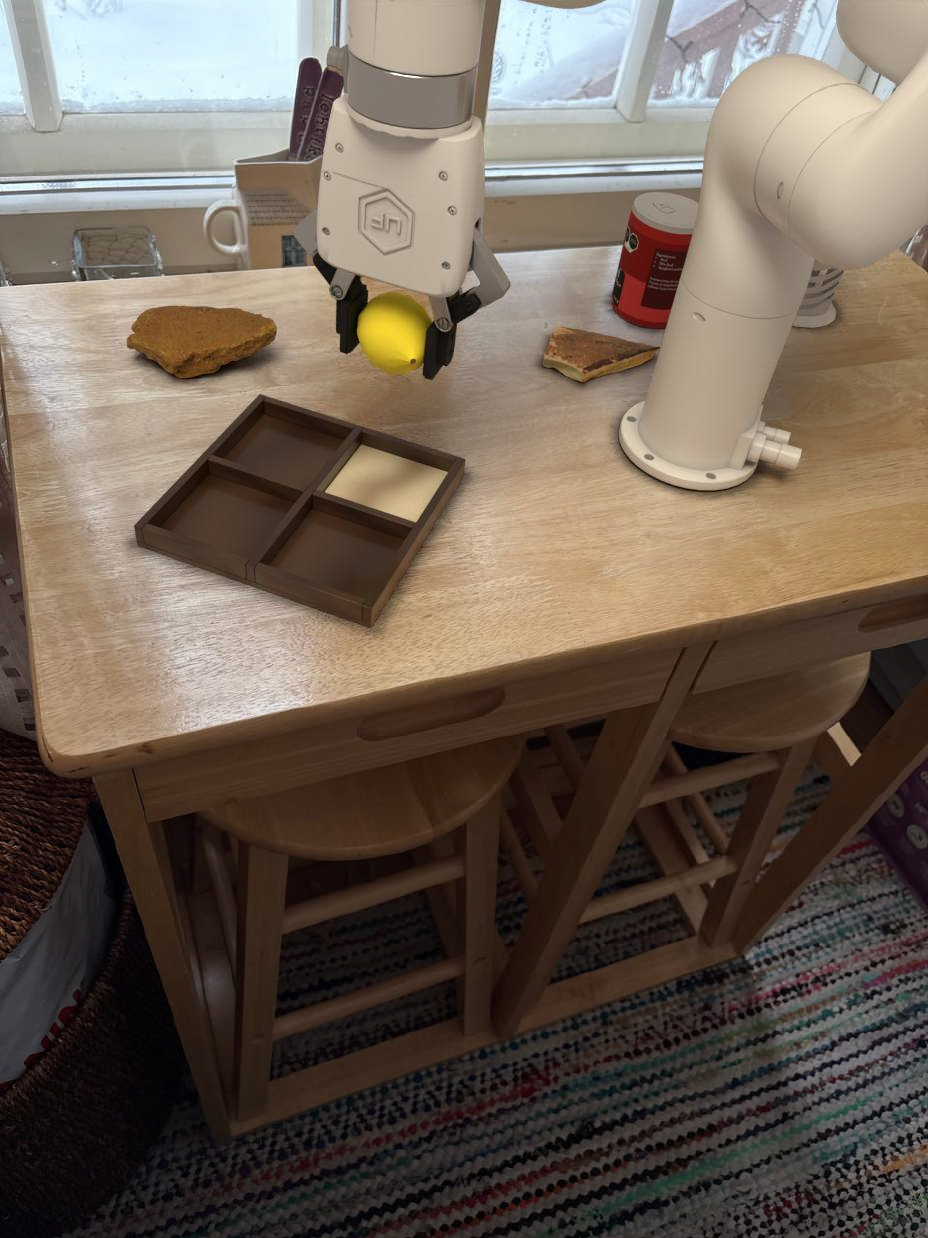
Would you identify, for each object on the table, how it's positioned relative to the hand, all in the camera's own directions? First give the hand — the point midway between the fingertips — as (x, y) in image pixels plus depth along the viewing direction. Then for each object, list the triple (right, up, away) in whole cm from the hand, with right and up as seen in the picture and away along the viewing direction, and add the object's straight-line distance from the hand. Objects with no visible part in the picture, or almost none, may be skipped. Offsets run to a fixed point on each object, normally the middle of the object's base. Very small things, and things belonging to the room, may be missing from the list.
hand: (393, 354), depth 70 cm
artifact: (-20, +6, +20) cm, 29 cm away
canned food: (+24, +14, +34) cm, 44 cm away
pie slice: (+17, +7, +27) cm, 33 cm away
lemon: (0, -1, +1) cm, 1 cm away
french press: (+42, +16, +39) cm, 60 cm away
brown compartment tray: (-7, -10, +7) cm, 14 cm away
